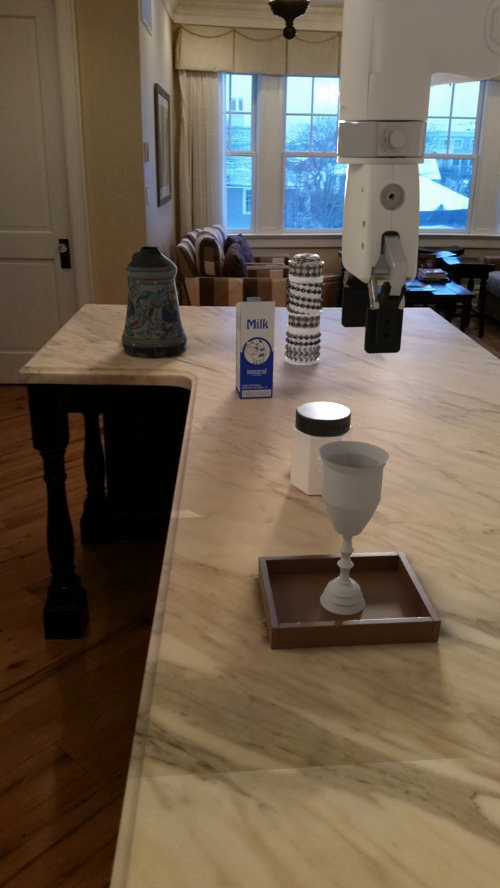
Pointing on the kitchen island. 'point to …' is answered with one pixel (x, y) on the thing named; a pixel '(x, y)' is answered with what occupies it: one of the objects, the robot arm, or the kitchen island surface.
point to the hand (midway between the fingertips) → (368, 338)
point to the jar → (315, 441)
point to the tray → (311, 625)
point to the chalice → (349, 510)
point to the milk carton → (255, 348)
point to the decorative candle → (304, 309)
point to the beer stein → (153, 307)
